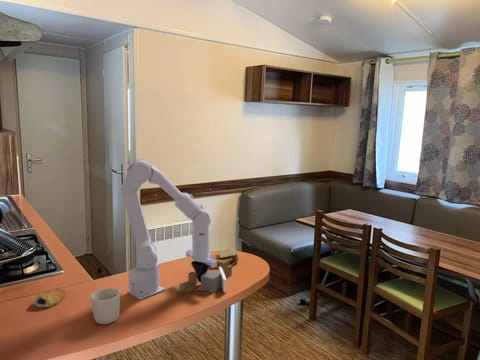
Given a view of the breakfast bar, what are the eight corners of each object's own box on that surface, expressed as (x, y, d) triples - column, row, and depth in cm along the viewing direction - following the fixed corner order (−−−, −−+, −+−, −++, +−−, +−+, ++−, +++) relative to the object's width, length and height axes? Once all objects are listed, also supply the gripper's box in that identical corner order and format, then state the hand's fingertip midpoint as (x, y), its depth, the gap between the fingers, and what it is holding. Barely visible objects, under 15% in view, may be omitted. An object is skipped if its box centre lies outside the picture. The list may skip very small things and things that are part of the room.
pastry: (54, 292, 123) (53, 282, 123) (71, 295, 122) (71, 284, 121) (32, 306, 114) (31, 295, 114) (50, 310, 113) (49, 298, 112)
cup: (83, 315, 109) (81, 290, 108) (109, 306, 115) (108, 281, 113) (99, 330, 102) (97, 303, 100) (126, 319, 107) (125, 294, 106)
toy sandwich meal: (205, 257, 154) (205, 246, 154) (237, 256, 155) (238, 246, 154) (204, 270, 142) (204, 258, 141) (239, 269, 143) (239, 257, 142)
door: (226, 292, 123) (226, 278, 123) (223, 292, 123) (223, 278, 122) (221, 277, 134) (221, 264, 134) (218, 277, 134) (218, 264, 133)
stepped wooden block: (182, 295, 121) (182, 278, 120) (178, 293, 123) (178, 276, 122) (232, 275, 137) (232, 260, 136) (228, 273, 138) (228, 258, 137)
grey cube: (213, 293, 124) (213, 278, 123) (201, 289, 126) (200, 275, 125) (221, 287, 128) (221, 273, 127) (209, 283, 130) (209, 270, 129)
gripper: (223, 246, 124) (223, 284, 127) (196, 236, 134) (197, 271, 137) (207, 251, 119) (207, 290, 122) (180, 240, 130) (181, 277, 132)
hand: (201, 281), depth 129 cm, fingers closed
